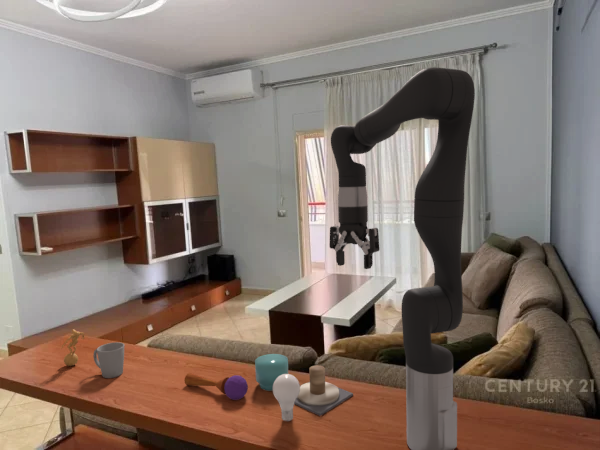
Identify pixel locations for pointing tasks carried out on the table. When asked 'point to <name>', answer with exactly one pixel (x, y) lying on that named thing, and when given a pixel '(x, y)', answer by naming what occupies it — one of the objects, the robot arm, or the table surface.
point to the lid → (318, 389)
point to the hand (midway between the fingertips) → (353, 266)
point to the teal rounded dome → (270, 369)
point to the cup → (110, 359)
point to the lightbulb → (286, 394)
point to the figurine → (71, 357)
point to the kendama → (221, 384)
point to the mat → (324, 408)
